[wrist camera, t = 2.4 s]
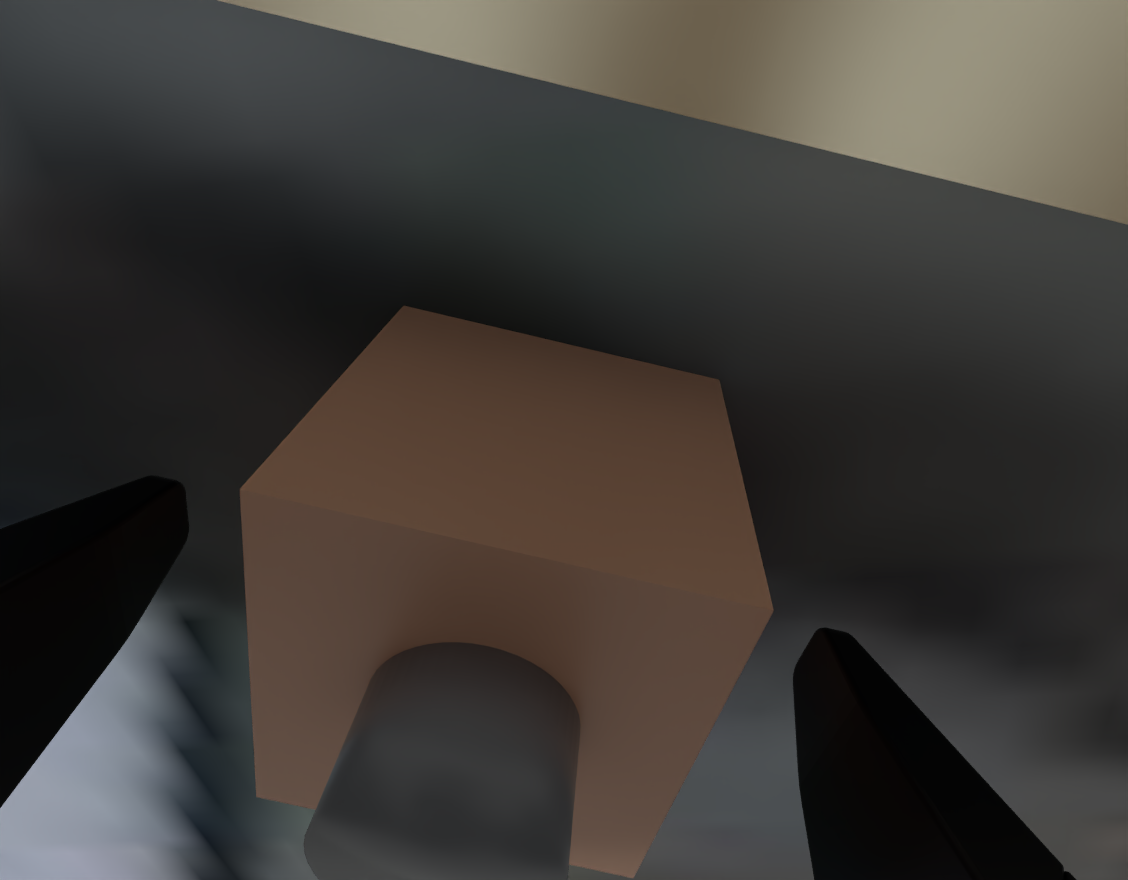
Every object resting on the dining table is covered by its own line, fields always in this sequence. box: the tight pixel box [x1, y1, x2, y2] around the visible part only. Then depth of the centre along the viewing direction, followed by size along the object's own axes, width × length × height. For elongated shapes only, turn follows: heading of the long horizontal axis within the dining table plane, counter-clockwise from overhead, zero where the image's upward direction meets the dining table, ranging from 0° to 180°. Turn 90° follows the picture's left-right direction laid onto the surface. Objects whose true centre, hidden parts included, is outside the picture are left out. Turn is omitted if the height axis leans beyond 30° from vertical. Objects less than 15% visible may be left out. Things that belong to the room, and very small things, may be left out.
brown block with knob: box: [240, 306, 774, 880], centre depth 9 cm, size 5×5×7 cm
